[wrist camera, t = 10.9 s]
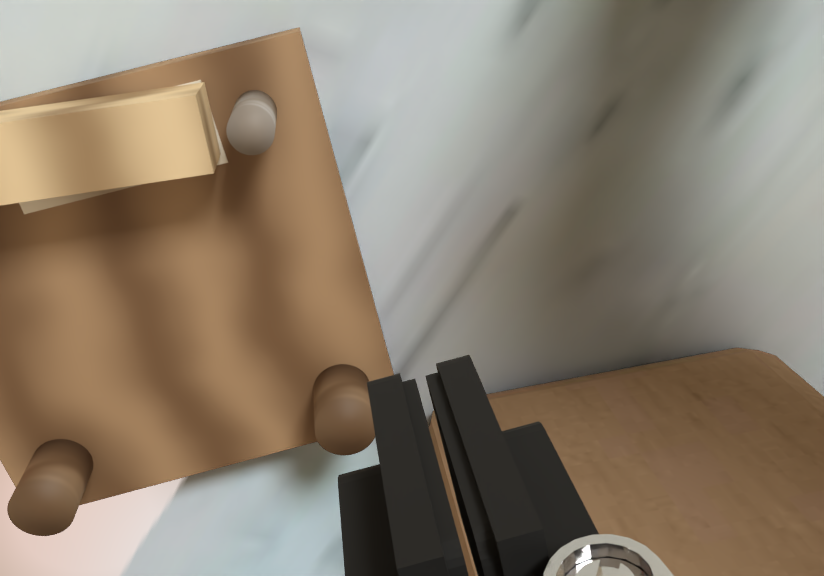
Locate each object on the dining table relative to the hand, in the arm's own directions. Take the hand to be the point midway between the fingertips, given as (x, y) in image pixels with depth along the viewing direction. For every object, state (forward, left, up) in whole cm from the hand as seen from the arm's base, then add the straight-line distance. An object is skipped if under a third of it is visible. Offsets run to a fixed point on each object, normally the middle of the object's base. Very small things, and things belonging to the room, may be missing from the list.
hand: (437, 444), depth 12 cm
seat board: (+12, +7, -29) cm, 32 cm away
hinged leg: (+11, -2, -27) cm, 29 cm away
